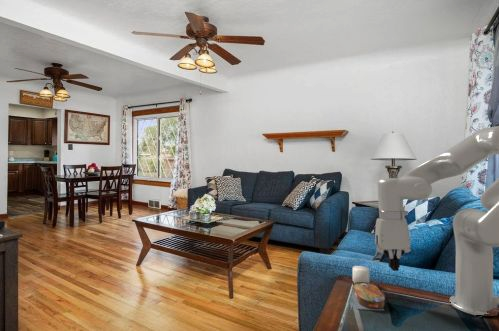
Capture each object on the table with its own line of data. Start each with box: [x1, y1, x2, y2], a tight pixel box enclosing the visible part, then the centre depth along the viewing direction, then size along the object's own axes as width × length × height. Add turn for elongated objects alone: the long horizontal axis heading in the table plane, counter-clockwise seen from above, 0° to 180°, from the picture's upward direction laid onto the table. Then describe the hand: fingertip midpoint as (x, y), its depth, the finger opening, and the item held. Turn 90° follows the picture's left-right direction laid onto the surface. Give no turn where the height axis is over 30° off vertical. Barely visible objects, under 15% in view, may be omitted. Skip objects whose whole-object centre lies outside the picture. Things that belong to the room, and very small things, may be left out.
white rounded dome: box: [351, 265, 370, 283], centre depth 111 cm, size 6×6×6 cm
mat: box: [350, 292, 385, 312], centre depth 99 cm, size 8×14×1 cm, turn 174°
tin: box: [352, 282, 386, 309], centre depth 99 cm, size 15×3×8 cm
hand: (394, 269), depth 97 cm, fingers closed
